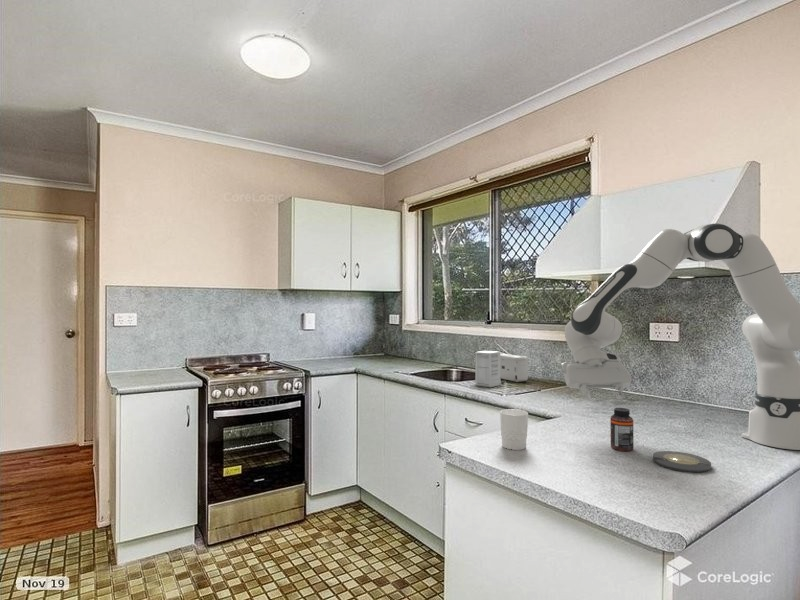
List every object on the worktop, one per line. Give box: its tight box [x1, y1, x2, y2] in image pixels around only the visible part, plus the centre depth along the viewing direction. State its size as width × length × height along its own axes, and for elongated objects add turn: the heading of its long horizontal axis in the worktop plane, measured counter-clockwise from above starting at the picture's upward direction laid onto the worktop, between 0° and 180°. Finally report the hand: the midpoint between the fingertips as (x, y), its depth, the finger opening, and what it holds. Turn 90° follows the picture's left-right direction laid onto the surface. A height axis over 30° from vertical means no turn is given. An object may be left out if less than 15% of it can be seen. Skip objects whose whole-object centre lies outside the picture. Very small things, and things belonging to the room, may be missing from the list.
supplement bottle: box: [610, 407, 634, 452], centre depth 134 cm, size 6×6×11 cm
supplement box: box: [474, 350, 502, 388], centre depth 235 cm, size 10×9×17 cm
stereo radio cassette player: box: [493, 340, 529, 383], centre depth 253 cm, size 21×8×20 cm, turn 30°
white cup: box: [499, 408, 529, 451], centre depth 136 cm, size 8×8×10 cm
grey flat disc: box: [652, 450, 712, 474], centre depth 121 cm, size 13×13×1 cm
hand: (606, 398), depth 142 cm, fingers open, 8 cm apart
